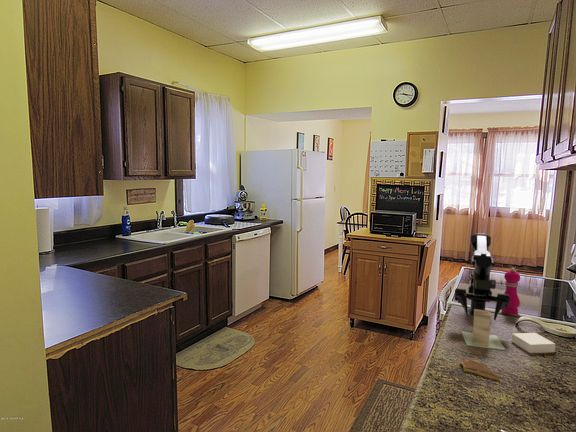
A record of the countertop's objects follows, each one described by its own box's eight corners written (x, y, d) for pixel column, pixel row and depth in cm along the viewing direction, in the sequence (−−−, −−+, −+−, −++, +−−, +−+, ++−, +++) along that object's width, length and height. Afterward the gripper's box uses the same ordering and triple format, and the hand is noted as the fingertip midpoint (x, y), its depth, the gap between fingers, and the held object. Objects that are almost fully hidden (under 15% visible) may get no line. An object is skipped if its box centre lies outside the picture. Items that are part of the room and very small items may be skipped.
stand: (511, 341, 135) (512, 333, 135) (534, 340, 136) (535, 332, 136) (530, 353, 126) (530, 344, 126) (554, 352, 127) (555, 343, 127)
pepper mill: (522, 315, 161) (526, 269, 159) (506, 314, 161) (509, 269, 159) (513, 309, 168) (516, 265, 166) (496, 309, 168) (500, 265, 166)
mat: (461, 332, 143) (461, 331, 143) (496, 336, 140) (496, 335, 140) (467, 345, 131) (467, 344, 131) (505, 350, 128) (505, 349, 128)
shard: (501, 383, 109) (501, 377, 108) (476, 384, 108) (476, 378, 108) (478, 364, 119) (478, 359, 119) (455, 365, 119) (456, 359, 118)
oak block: (472, 337, 137) (474, 308, 136) (487, 340, 135) (489, 311, 134) (472, 343, 133) (474, 313, 131) (488, 346, 131) (490, 315, 129)
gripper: (456, 268, 146) (453, 304, 137) (511, 273, 138) (512, 312, 130) (455, 282, 154) (453, 317, 145) (507, 288, 146) (508, 325, 137)
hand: (480, 318), depth 139 cm, fingers open, 9 cm apart
